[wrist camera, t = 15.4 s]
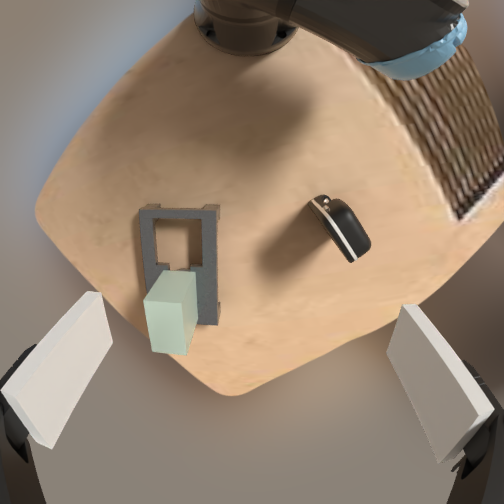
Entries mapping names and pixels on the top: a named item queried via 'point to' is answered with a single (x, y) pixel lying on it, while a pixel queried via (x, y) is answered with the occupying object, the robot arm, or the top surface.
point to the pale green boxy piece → (172, 311)
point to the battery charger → (341, 226)
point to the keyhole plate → (204, 272)
